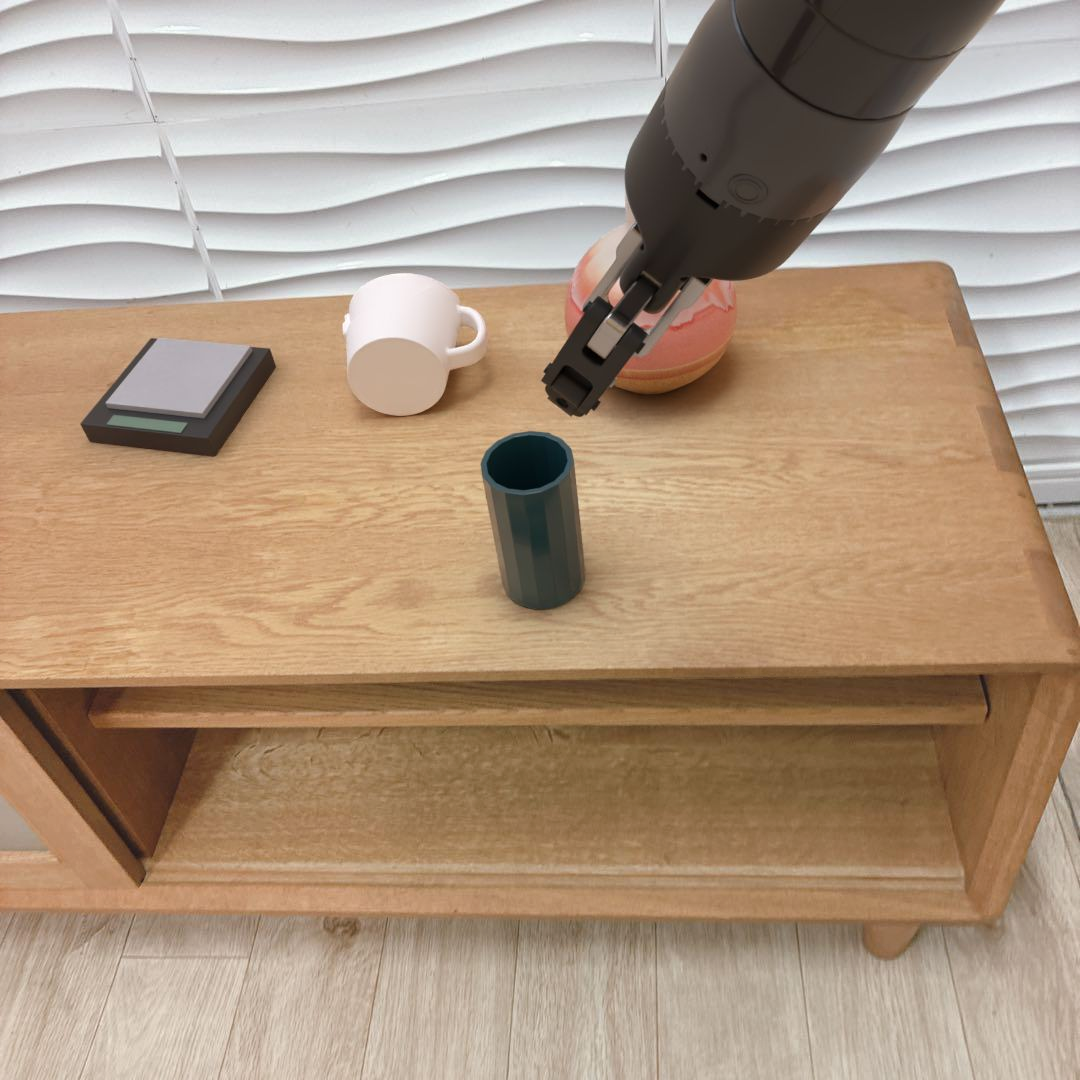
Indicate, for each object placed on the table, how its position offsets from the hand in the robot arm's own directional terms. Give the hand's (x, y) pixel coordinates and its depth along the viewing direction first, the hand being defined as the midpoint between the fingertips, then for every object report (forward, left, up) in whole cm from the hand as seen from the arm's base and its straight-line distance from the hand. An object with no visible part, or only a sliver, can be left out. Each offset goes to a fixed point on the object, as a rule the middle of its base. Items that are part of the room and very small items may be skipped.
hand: (611, 341), depth 53 cm
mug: (+25, +23, -25) cm, 42 cm away
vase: (+29, +4, -25) cm, 38 cm away
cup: (+5, +7, -24) cm, 26 cm away
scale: (+19, +43, -24) cm, 53 cm away
